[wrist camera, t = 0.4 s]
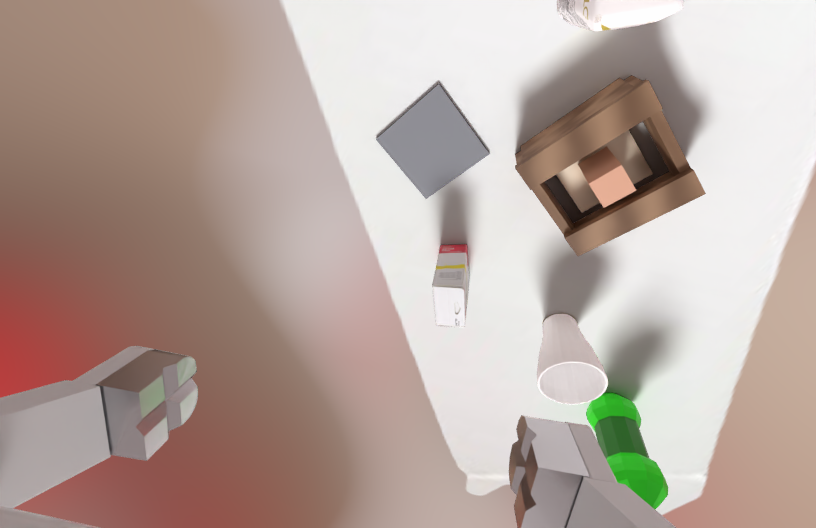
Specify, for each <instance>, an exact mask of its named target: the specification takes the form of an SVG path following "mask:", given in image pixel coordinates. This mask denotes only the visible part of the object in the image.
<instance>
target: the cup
mask: <svg viewBox="0 0 816 528" xmlns="http://www.w3.org/2000/svg"><path fill="white" fill-rule="evenodd" d="M537 384H538V388H539V390H540V391H541V393H542V394H543V395H545V396H546V397H547V398H549V399H551V400H553V401H555V402H559V403H563V404H582V403H587V402H590V401H592V400H595V399H597V398H598V397H600V396H601V395H602V394H603V393H604V392H605V391H606V389H607V386H608V378H607V375H606V373H605V371H604V368H603V366H602V364H601V362H600V361H599V359H598V357H597V355H596V354H595V352H594V350H593V349H592V347H591V346H590V344H589V343H588V342H587V340H586V339H585V338H584V336H583V334H582V333H581V331H580V329H579V327H578V324H577V322H576V320H575V319H574V318H573V317H572V316H570V315H567V314H554V315H551V316H549V317H548V318H546V319H545V321H544V322H543V338H542V344H541V348H540V352H539V359H538V367H537Z"/></svg>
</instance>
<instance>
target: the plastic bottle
mask: <svg viewBox="0 0 816 528" xmlns="http://www.w3.org/2000/svg"><path fill="white" fill-rule="evenodd" d="M586 416H587V419H588V421H589V423H590V424H591V426H592V428H593V429H594V431H595V432H596V436H597V440H598V444H599V446H600V448H601V450H602V452H603V454H604V456H605V458H606V460H607V462H608V464H609V466H610V468H611V470H612V472H613V474H614V476H615V478H616V480H617V482H618V483H620V484H625V485H626V486H628V487H629V488H630V489H631V490H632V491H634V492H635V493H636V494H637V495H638V496H639V497H641V498H642V499H643V500H644V501H645V502H646V503H648V504H649V505H650V506H651V507H652V508H654V509H656V508H657V507H658V506H659V505H660V504H661V503H662V502H663V500H664V499H665V498H666V497H667V495H668V486H667V483H666V480H665V478H664V476H663V474H662V472H661V470H660V468H659V467H658V465H657V463H656V462H654V461H653V460H651V459H649V456H648V453H647V450H646V447H645V444H644V441H643V439H642V436H641V433H640V430H639V428H640V424H641V417H640V415H639V412H638V410H637V408H636V406H635V405H634V403H633V402H632V401H630V400H629V399H627V398H624V397H622V396H619V395H617V394H615V393H603V394H602V395H601V396H600V397H598V398H597V399H595V400H592V401H591V403H590V405H589V407H588V409H587V412H586Z"/></svg>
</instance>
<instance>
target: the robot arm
mask: <svg viewBox="0 0 816 528" xmlns="http://www.w3.org/2000/svg"><path fill="white" fill-rule="evenodd" d="M196 372H197V371H196V362H195V360H194V359H193V358H192V357H190V356H185V355H181V354H175V353H171V352H165V351H161V350H156V349H150V348H145V347H139V346H133V347H128V348H127V349H125V350H123V351H121V352H120V353H118V354H117V355H115V356H113V357H112V358H110V359H109V360H107V361H105V362H104V363H102V364H100V365H98V366H97V367H95V368H93V369H92V370H90V371H88V372H87V373H85V374H83V375H82V376H80V377H78V378H77V379H75V380H74V381H68V380H65V381H61V382H57V383H54V384H50V385H46V386H43V387H39V388H35V389H31V390H28V391H25V392H20V393H17V394H13V395H9V396H6V397H2V398H0V528H99V527H95V526H91V525H86V524H81V523H76V522H72V521H68V520H62V519H58V518H54V517H49V516H44V515H40V514H35V513H31V512H26V511H22V510H17V509H12V508H14V507H16V506H18V505H20V504H22V503H24V502H25V501H27V500H29V499H31V498H33V497H35V496H37V495H39V494H41V493H42V492H45V491H46V490H48V489H50V488H52V487H54V486H56V485H58V484H60V483H62V482H63V481H65V480H67V479H69V478H71V477H73V476H75V475H77V474H79V473H81V472H82V471H84V470H86V469H88V468H90V467H92V466H94V465H96V464H98V463H100V462H101V461H103V460H105V459H107V458H109V457H110V456H111V455H116V456H122V457H128V458H133V459H139V460H146V461H147V460H148V459H149V458H150V457H151V456H152V455H153V454H154V453H155V452H156V451H157V450H158V449H159V448H160V447H161V446H162V445H163V444H164V443H165V442H166V441H167V440H168V437H169V431H170V430H172V429H175V428H177V427H179V426H181V425H182V424H183V423H184V422H185V421H186V420H187V419H188V418H189V417H190V416H191V414H192V412H193V410H194V408H195V406H196V402H197V397H198V387H197V386H196V384H195V383H194V381H193V380H192V379H191V378H192V377H193V376H194V374H195V373H196ZM516 430H517V435H518V439H519V440H518V441H517V442H515V443H514V444H513V445H512V449H511V454H510V461H509V479H510V486H511V489H512V490H513V492H514V493H515V494H516V495H517V497H516V500H515V504H514V510H515V516H516V522H517V528H676V527H674V526H673V525H672V524H671V523H670V522H669V521H668V520H667V519H665V518H664V517H663V516H662V515H661V514H659V513H658V512H657V511H656V510H655V509H654V508H652V507H651V506H650V505H649V504H648V503H646V502H645V501H644V500H643V499H642V498H641V497H639V496H638V495H637V494H636V493H635V492H634V491H632V490H631V489H630V488H629V487H628V486H626V485H625V484H620V483H618V482H617V480H616V478H615V476H614V474H613V472H612V470H611V468H610V466H609V464H608V462H607V460H606V458H605V456H604V454H603V452H602V450H601V448H600V446H599V444H598V442H597V440H596V438H595V436H594V434H593V432H592V430H591V428H590V427H589V426H587V425H582V424H575V423H569V422H565V423H564V422H558V421H552V420H546V419H540V418H534V417H528V416H523V415H521V417H520V419H519V421H518V425H517V429H516Z"/></svg>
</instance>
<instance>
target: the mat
mask: <svg viewBox="0 0 816 528" xmlns="http://www.w3.org/2000/svg"><path fill="white" fill-rule="evenodd" d="M376 140H377V141H378V142H379V144H380V145H381V146H382V147H383V148H384V150H385V151H386V152H387V153H388V154H389V155H390V157H391V158H392V159H393V160H394V161H395V163H396V164H397V165H398V166H399V167H400V169H401V170H402V171H403V172H404V173H405V174H406V176H407V177H408V178H409V179H410V180H411V182H412V183H413V184H414V185H415V186H416V188H417V189H418V190H419V191H420V192H421V193H422V195H423V196H424V197H425V198H426V199H427V198H428V197H429V196H431V195H432V194H434V193H435V192H436V191H438V190H439V189H441V188H442V187H444V186H445V185H446V184H448V183H449V182H451V181H452V180H453V179H455V178H456V177H458V176H459V175H460V174H462V173H463V172H465V171H466V170H468V169H469V168H470V167H472V166H473V165H475V164H476V163H477V162H479V161H480V160H482V159H483V158H484V157H486V156H487V155H489V152H488V151H487V149H486V148H485V146H484V145H483V144H482V142H481V141H480V140H479V138H478V137H477V135H476V134H475V133H474V131H473V130H472V129H471V127H470V126H469V124H468V123H467V122H466V120H465V119H464V118H463V116H462V115H461V113H460V112H459V111H458V109H457V108H456V107H455V105H454V104H453V102H452V101H451V100H450V98H449V97H448V96H447V94H446V93H445V91H444V90H443V89H442V87H441V86H440V85H439V84H438V85H437V86H436V87H435V88H433V89H432V90H431V91H430V92H429V93H428V94H427V95H426V96H424V97H423V98H422V99H421V100H420V101H419V102H418V103H416V104H415V105H414V106H413V107H412V108H411V109H410V110H408V111H407V112H406V113H405V114H404V115H403V116H402V117H401V118H399V119H398V120H397V121H396V122H395V123H394V124H393V125H391V126H390V127H389V128H388V129H387V130H386V131H385V132H383V133H382V134H381V135H380V136H379V137H378V138H377V139H376Z"/></svg>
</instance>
